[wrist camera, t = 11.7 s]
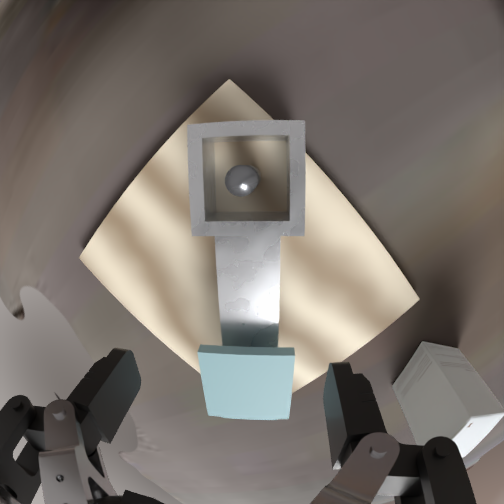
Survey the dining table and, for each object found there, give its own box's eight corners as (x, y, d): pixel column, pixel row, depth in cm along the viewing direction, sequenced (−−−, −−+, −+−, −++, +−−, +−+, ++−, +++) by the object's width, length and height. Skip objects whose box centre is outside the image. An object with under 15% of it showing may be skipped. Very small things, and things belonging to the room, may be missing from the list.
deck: (231, 82, 20) (229, 78, 19) (414, 294, 25) (419, 299, 24) (85, 254, 26) (79, 257, 25) (256, 406, 30) (255, 413, 29)
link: (201, 131, 21) (187, 124, 17) (299, 128, 20) (304, 120, 16) (214, 343, 26) (206, 370, 23) (293, 345, 26) (295, 373, 22)
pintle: (251, 160, 22) (241, 158, 15) (266, 176, 23) (263, 181, 15) (235, 176, 23) (218, 180, 16) (250, 191, 23) (240, 203, 16)
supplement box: (389, 386, 28) (421, 466, 16) (421, 338, 26) (473, 416, 14) (429, 391, 29) (463, 459, 17) (459, 347, 26) (508, 412, 14)
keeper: (215, 305, 26) (197, 352, 19) (290, 306, 26) (295, 355, 19) (222, 374, 29) (210, 424, 22) (286, 376, 28) (287, 427, 21)
